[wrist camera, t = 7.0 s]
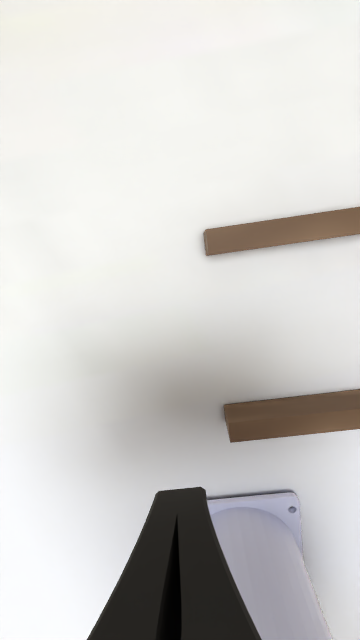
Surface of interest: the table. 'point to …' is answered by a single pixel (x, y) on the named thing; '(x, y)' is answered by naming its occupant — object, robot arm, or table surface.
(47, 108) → the table surface
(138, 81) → the table surface
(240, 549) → the robot arm
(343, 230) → the bay
